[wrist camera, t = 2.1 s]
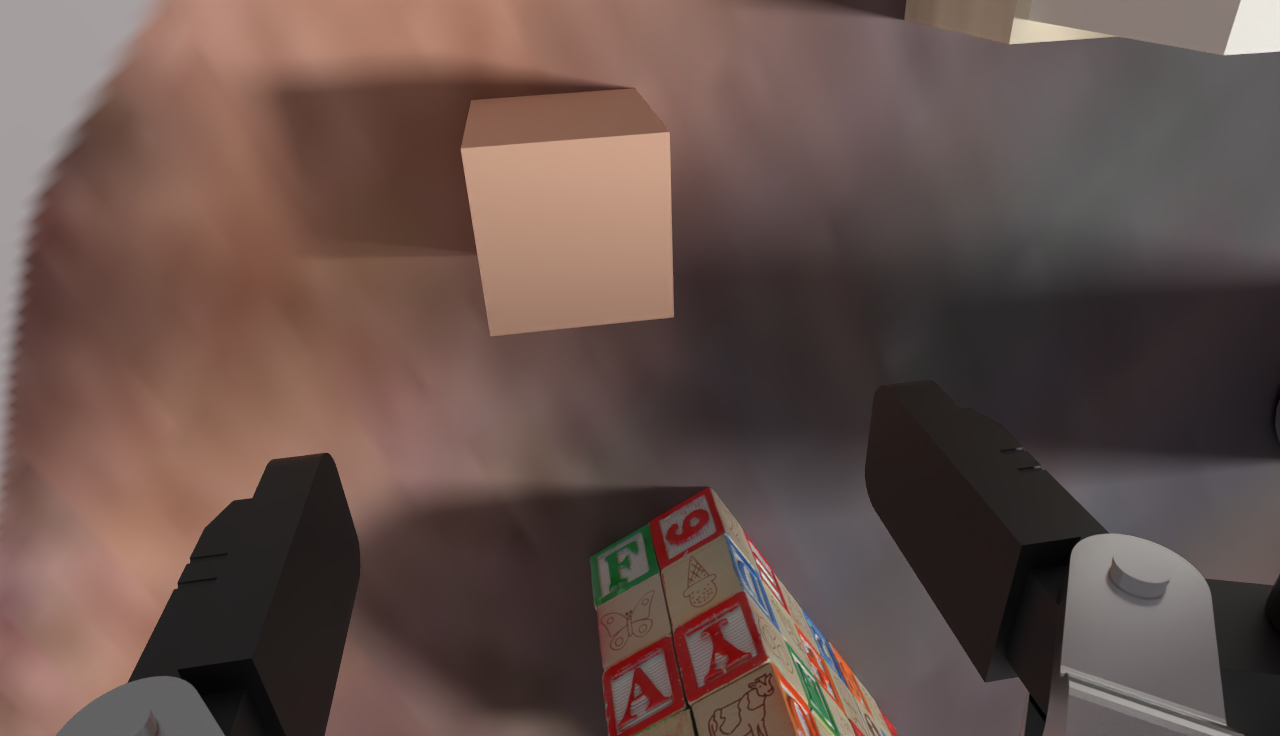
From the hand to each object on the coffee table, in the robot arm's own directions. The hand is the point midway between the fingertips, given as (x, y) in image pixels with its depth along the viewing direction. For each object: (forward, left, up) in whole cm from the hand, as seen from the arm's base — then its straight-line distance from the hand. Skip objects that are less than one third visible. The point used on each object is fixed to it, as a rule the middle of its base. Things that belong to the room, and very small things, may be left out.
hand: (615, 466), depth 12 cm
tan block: (0, 0, -16) cm, 16 cm away
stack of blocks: (-8, +24, -16) cm, 30 cm away
